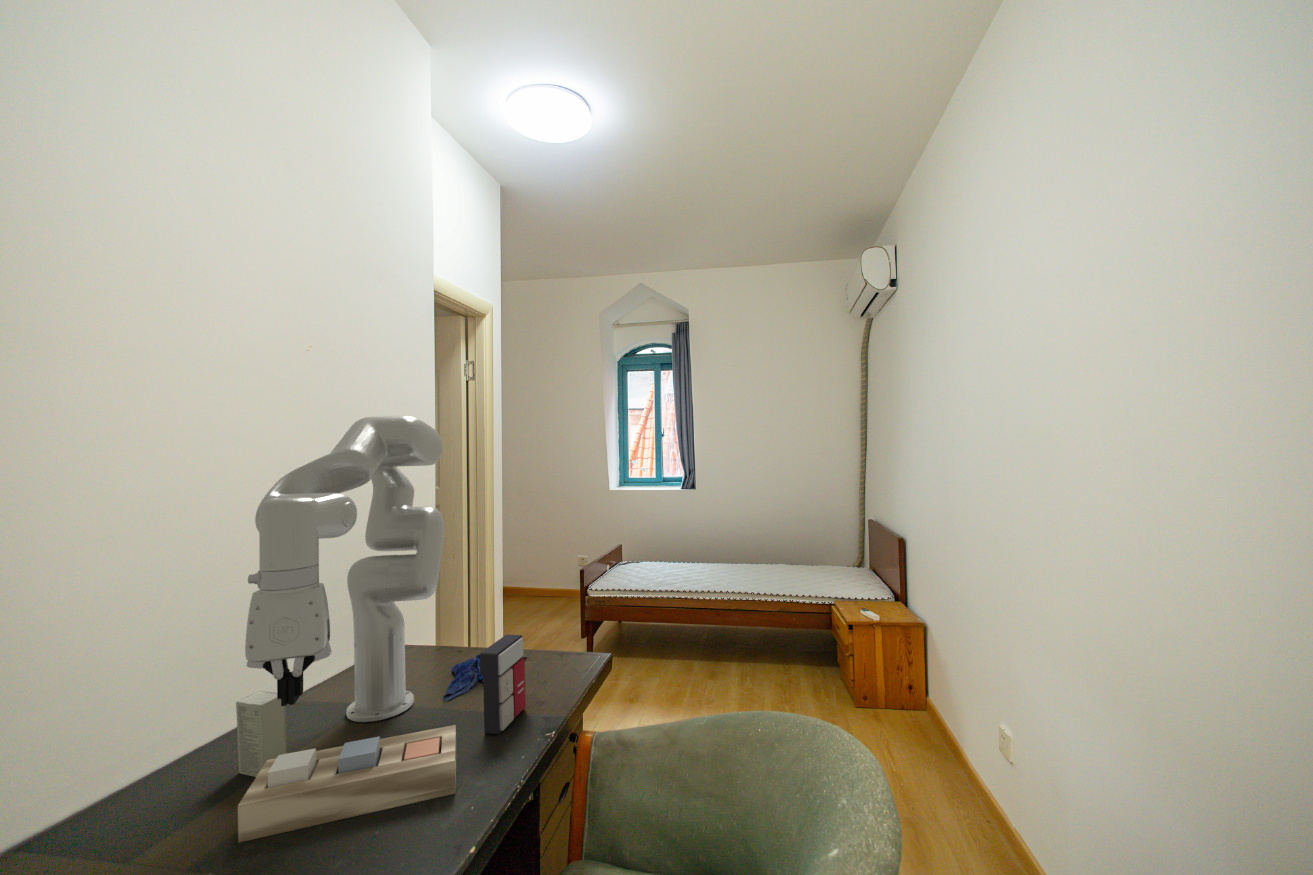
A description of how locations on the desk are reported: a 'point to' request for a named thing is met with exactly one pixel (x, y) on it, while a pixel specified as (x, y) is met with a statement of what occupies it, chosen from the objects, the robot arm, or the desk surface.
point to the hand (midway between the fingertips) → (290, 701)
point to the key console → (349, 787)
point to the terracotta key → (422, 748)
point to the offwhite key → (292, 768)
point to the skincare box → (260, 731)
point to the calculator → (503, 682)
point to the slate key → (359, 755)
